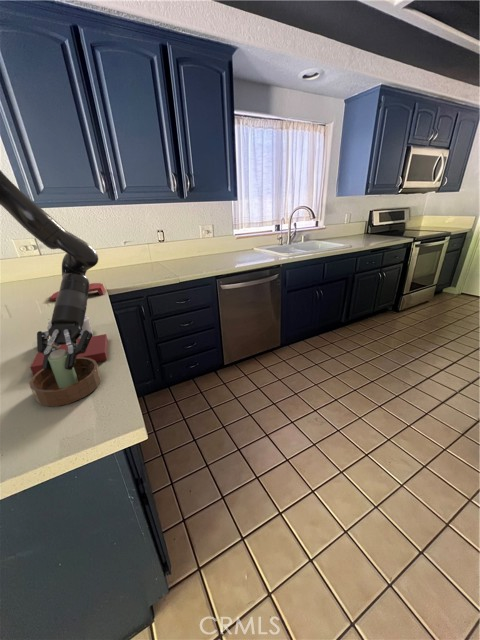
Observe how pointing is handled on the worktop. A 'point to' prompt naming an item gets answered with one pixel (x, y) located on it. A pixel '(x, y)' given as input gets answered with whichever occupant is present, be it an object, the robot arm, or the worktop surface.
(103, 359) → the book
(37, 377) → the bowl
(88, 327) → the lumpy-topped squat cylinder
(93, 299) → the worktop surface
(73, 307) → the robot arm
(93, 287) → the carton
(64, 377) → the pepper shaker
